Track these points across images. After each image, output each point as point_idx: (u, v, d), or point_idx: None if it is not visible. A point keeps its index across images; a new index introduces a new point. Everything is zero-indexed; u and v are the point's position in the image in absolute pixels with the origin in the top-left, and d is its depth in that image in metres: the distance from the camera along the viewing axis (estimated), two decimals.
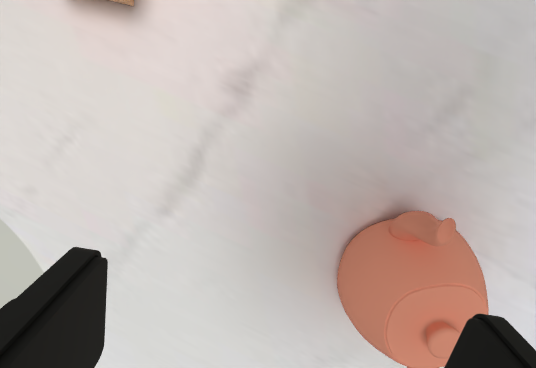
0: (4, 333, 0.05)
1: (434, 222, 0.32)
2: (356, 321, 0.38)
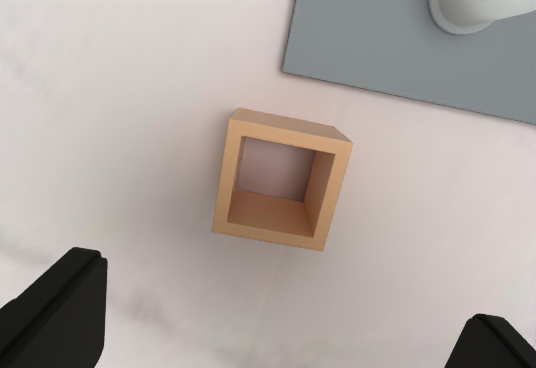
0: (4, 333, 0.05)
1: None
2: None
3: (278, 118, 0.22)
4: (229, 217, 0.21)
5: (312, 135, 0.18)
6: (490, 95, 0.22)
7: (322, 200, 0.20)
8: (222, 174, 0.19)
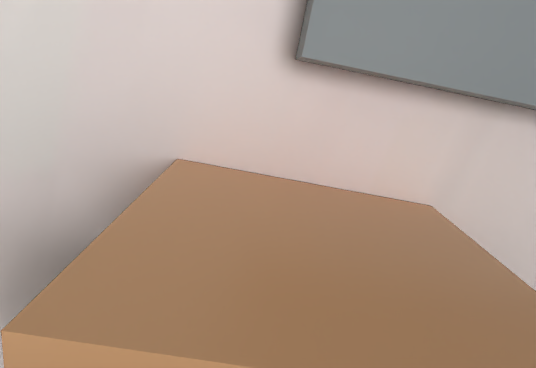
0: None
1: None
2: None
3: (287, 202, 0.07)
4: None
5: None
6: None
7: None
8: None
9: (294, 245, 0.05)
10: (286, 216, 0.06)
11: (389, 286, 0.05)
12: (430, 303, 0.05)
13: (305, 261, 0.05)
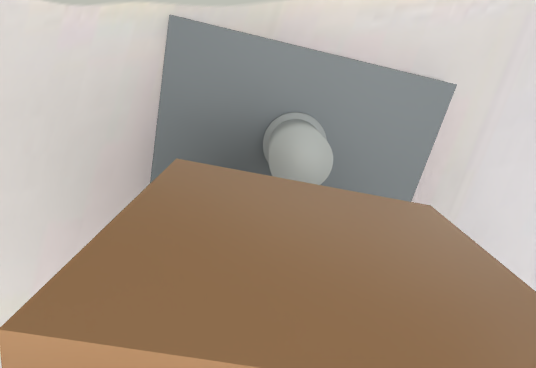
0: None
1: None
2: None
3: (286, 202, 0.07)
4: None
5: None
6: None
7: None
8: None
9: (292, 244, 0.05)
10: (285, 215, 0.06)
11: (387, 285, 0.05)
12: (428, 302, 0.05)
13: (303, 260, 0.05)
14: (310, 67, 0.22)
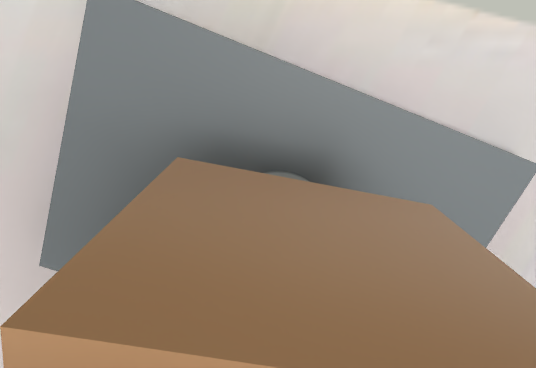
0: None
1: None
2: None
3: (288, 200, 0.07)
4: None
5: None
6: None
7: None
8: None
9: (294, 243, 0.05)
10: (286, 214, 0.06)
11: (390, 284, 0.05)
12: (431, 300, 0.05)
13: (306, 259, 0.05)
14: (318, 106, 0.14)
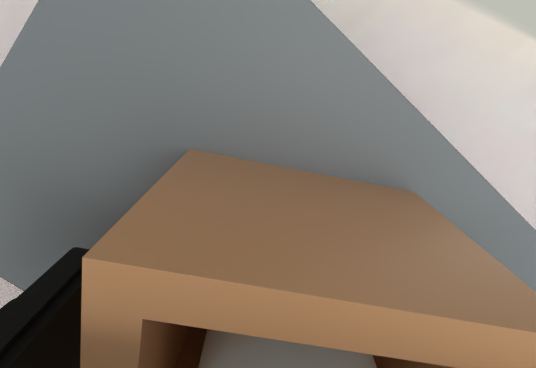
0: (5, 333, 0.05)
1: None
2: None
3: (286, 185, 0.08)
4: None
5: (436, 317, 0.04)
6: None
7: None
8: None
9: (292, 215, 0.07)
10: (285, 195, 0.08)
11: (367, 245, 0.06)
12: (399, 258, 0.06)
13: (300, 226, 0.06)
14: (394, 145, 0.10)
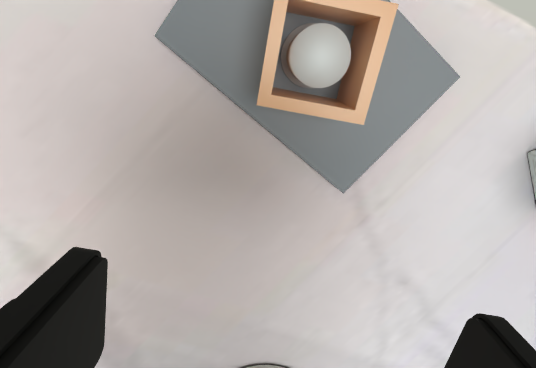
0: (4, 333, 0.05)
1: None
2: None
3: None
4: (272, 93, 0.21)
5: None
6: (301, 140, 0.28)
7: (365, 70, 0.20)
8: (268, 41, 0.19)
9: None
10: None
11: None
12: None
13: None
14: None
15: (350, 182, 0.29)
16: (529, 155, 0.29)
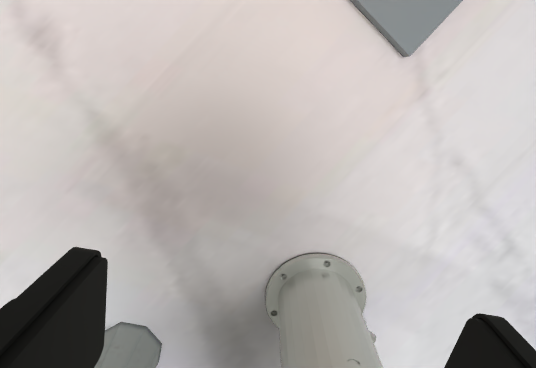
0: (4, 333, 0.05)
1: None
2: None
3: None
4: None
5: None
6: None
7: None
8: None
9: None
10: None
11: None
12: None
13: None
14: None
15: (417, 44, 0.31)
16: None
